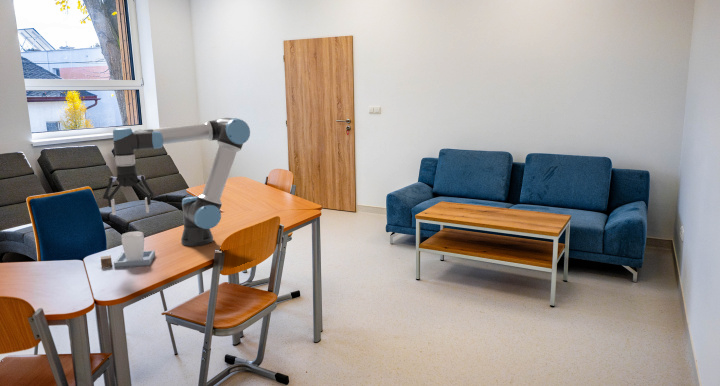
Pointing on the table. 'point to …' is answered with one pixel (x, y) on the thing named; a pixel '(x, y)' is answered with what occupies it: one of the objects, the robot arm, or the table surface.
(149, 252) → the tray
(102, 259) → the walnut block
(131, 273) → the table surface
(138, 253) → the cup
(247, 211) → the table surface
